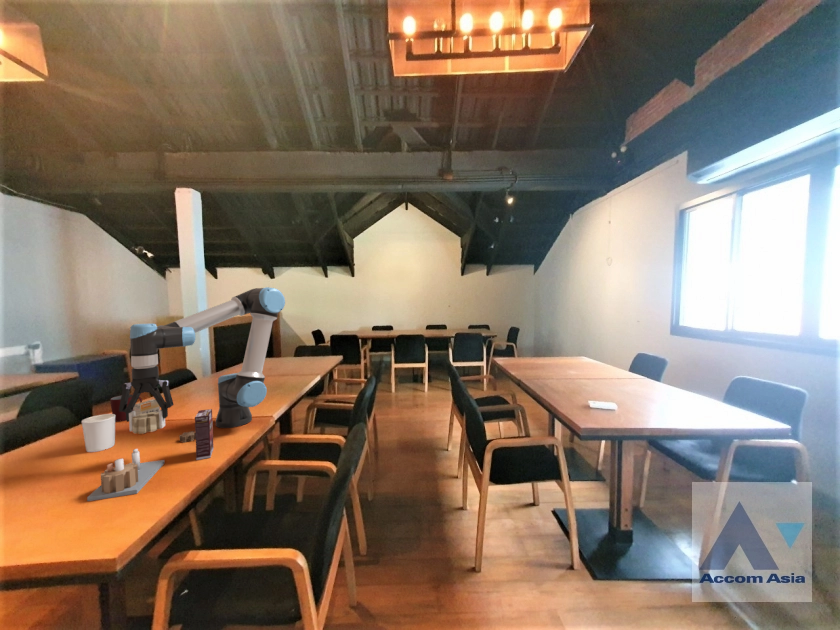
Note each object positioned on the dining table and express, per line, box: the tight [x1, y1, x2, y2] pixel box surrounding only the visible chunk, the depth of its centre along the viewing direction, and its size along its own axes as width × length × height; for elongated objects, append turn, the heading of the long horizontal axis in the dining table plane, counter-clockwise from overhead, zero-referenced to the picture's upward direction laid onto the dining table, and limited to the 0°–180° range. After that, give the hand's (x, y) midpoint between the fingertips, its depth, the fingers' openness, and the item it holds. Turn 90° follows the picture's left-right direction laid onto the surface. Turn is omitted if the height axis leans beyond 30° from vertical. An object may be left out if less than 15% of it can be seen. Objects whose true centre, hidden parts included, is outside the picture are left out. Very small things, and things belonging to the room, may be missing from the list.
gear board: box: [86, 448, 165, 502], centre depth 110 cm, size 12×20×9 cm, turn 17°
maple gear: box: [132, 412, 162, 435], centre depth 124 cm, size 8×8×5 cm
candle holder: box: [81, 413, 116, 453], centre depth 135 cm, size 10×10×12 cm
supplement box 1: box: [133, 398, 161, 435], centre depth 152 cm, size 8×5×13 cm, turn 161°
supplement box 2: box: [194, 408, 215, 461], centre depth 128 cm, size 9×5×16 cm, turn 25°
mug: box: [109, 394, 143, 423], centre depth 168 cm, size 12×9×11 cm
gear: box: [178, 430, 196, 444], centre depth 142 cm, size 6×6×2 cm
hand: (147, 428), depth 124 cm, fingers closed on maple gear, 8 cm apart
